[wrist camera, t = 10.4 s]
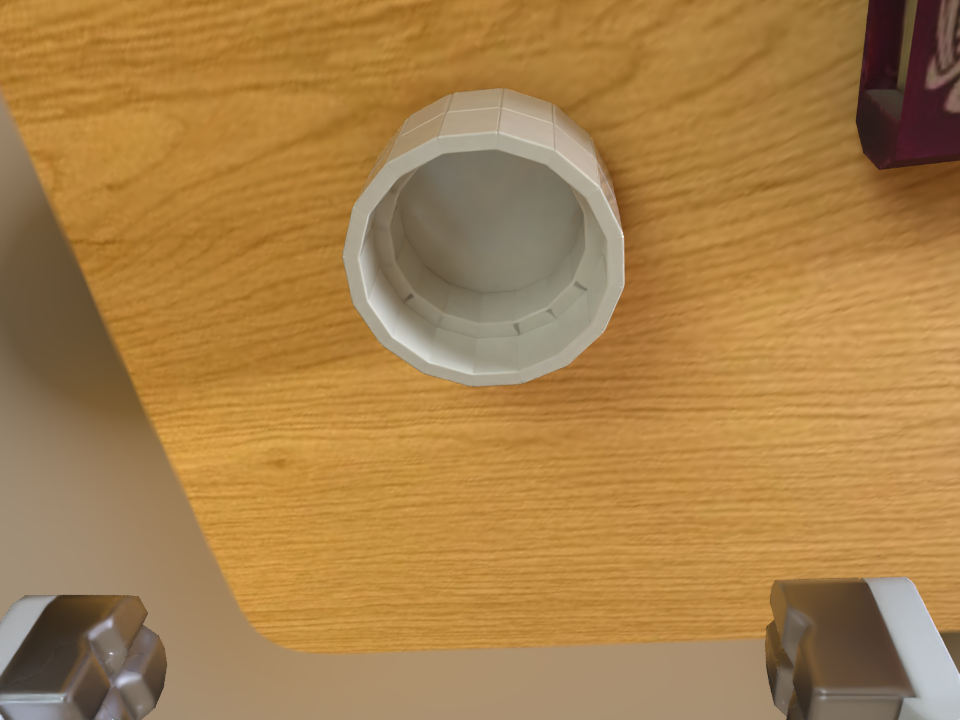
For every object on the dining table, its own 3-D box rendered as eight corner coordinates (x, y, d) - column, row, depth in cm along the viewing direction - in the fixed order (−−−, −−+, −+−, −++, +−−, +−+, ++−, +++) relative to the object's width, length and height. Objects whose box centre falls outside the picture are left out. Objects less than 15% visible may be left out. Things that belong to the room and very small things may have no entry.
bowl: (395, 314, 24) (371, 393, 21) (354, 95, 21) (317, 147, 17) (614, 301, 23) (626, 379, 20) (609, 71, 20) (622, 120, 17)
